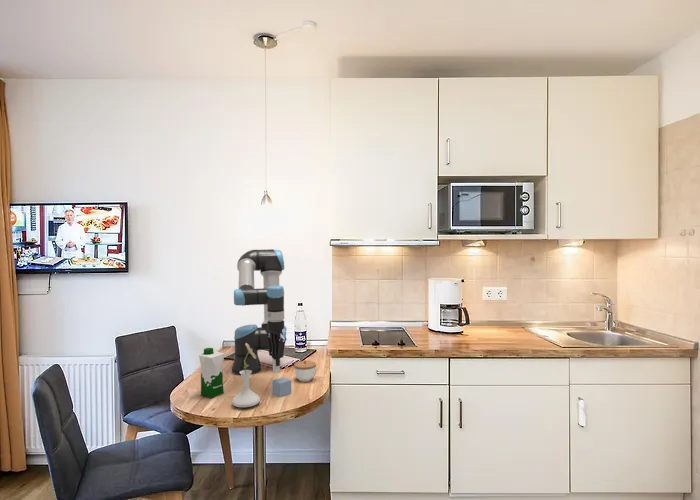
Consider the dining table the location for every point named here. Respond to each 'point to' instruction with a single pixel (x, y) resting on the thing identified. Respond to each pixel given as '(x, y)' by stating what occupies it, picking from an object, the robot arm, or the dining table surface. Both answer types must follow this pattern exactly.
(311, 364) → the lidded jar
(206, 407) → the dining table surface
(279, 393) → the block
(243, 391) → the flower in vase
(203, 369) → the milk carton
